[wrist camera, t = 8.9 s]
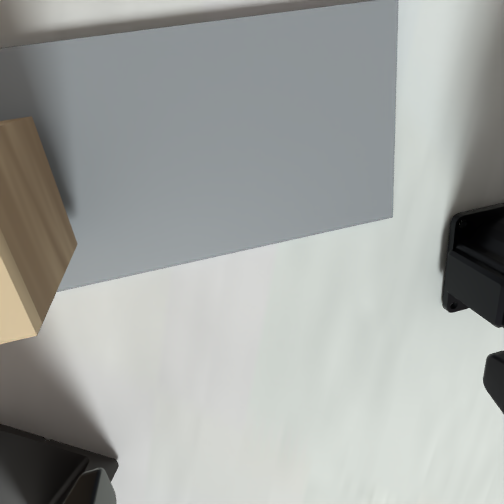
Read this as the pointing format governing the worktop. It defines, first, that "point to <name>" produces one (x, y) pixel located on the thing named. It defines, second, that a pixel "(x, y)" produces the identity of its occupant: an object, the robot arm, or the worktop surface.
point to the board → (212, 133)
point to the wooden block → (29, 232)
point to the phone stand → (42, 467)
